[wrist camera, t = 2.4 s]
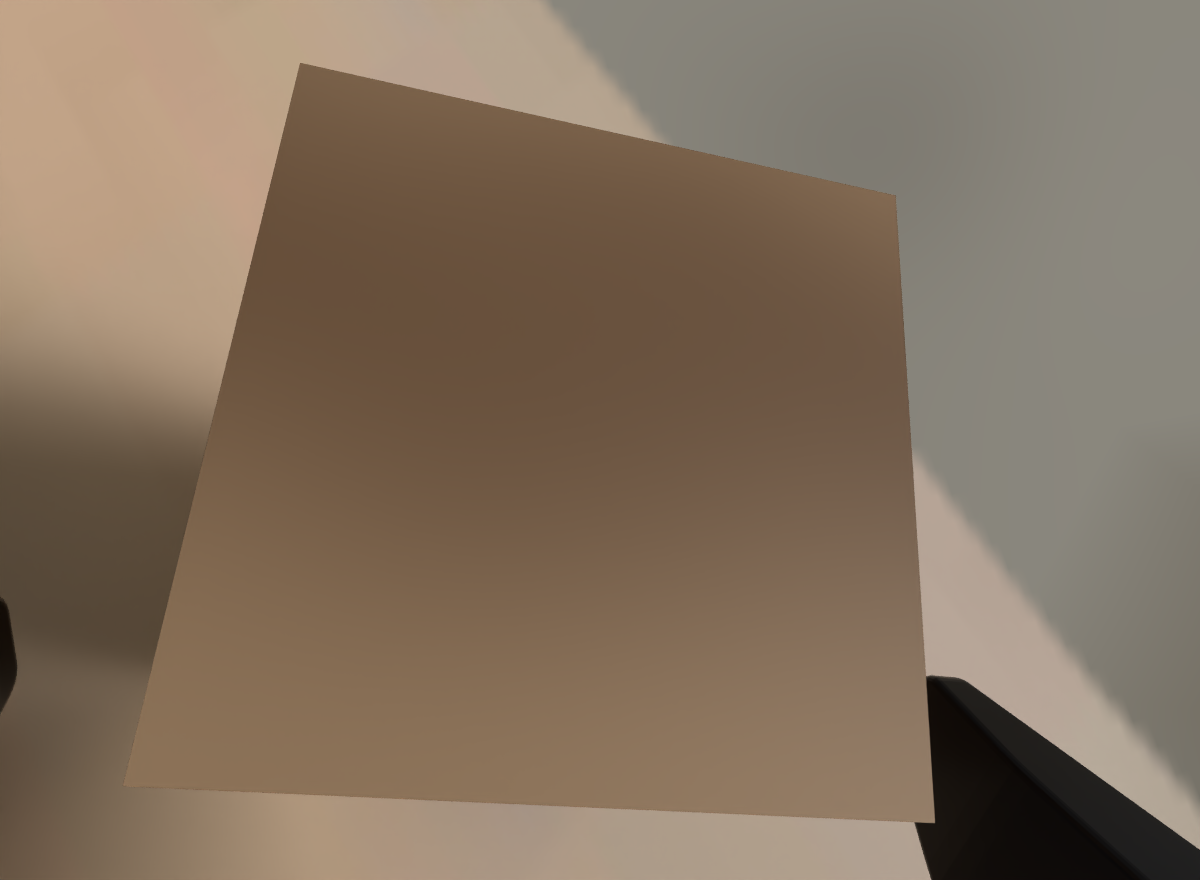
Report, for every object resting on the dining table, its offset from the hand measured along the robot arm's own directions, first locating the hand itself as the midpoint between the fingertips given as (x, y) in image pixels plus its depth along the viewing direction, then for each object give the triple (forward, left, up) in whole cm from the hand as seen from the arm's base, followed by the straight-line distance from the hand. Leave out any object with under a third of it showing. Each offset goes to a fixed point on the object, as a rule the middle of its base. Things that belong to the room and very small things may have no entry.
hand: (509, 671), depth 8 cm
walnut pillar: (+1, +1, -9) cm, 9 cm away
